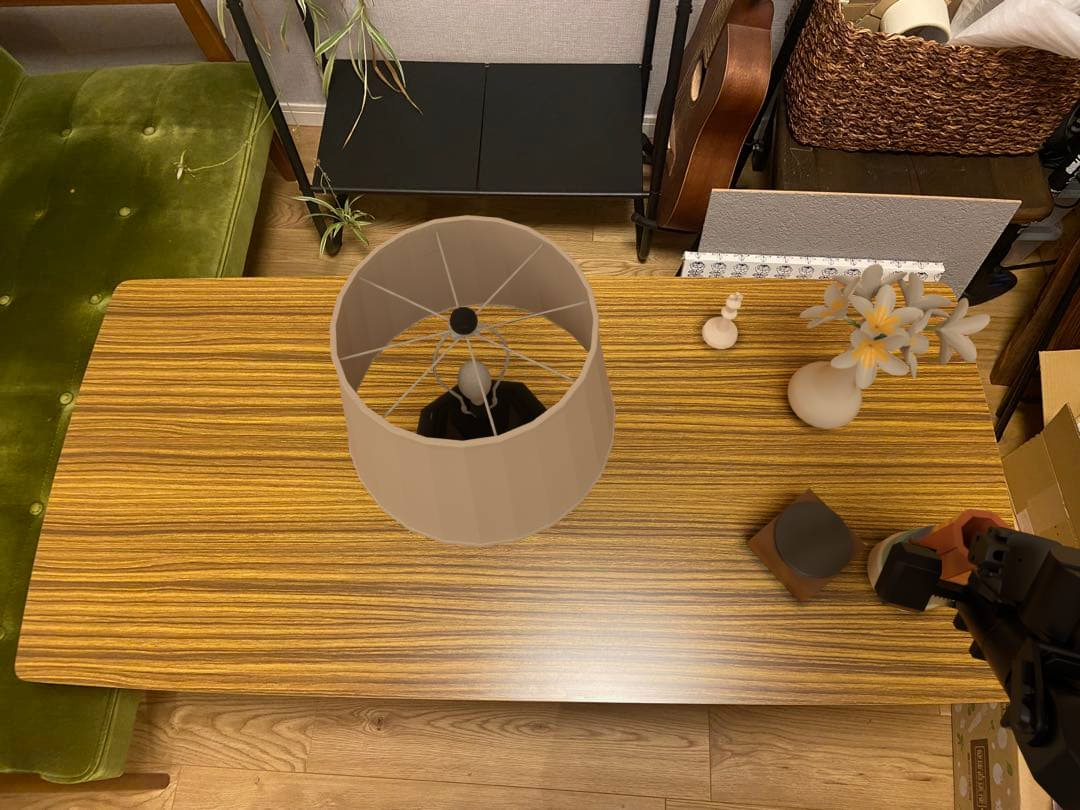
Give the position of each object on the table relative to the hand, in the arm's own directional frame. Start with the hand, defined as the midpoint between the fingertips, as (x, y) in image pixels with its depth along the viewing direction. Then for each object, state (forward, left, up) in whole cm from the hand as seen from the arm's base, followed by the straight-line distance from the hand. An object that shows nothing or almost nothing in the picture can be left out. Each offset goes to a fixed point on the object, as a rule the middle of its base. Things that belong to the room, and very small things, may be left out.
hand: (954, 552), depth 75 cm
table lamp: (+40, +32, -11) cm, 53 cm away
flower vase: (+22, -9, -11) cm, 26 cm away
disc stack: (0, 0, -11) cm, 11 cm away
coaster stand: (+10, +8, -11) cm, 17 cm away
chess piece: (+38, -6, -11) cm, 40 cm away
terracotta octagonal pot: (0, 0, -2) cm, 2 cm away
